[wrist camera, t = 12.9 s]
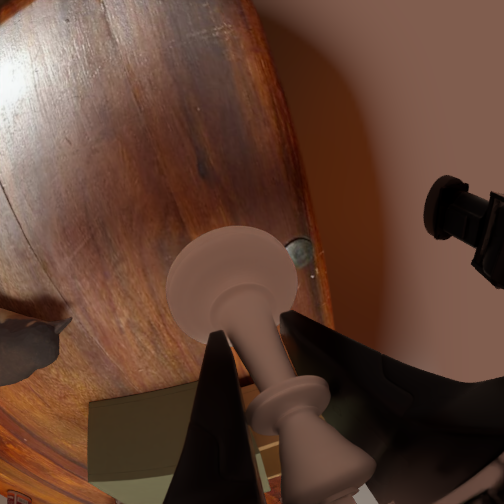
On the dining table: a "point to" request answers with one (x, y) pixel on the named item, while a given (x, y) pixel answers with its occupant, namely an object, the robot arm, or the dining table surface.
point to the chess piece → (266, 356)
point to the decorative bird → (26, 345)
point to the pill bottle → (17, 498)
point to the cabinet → (142, 443)
